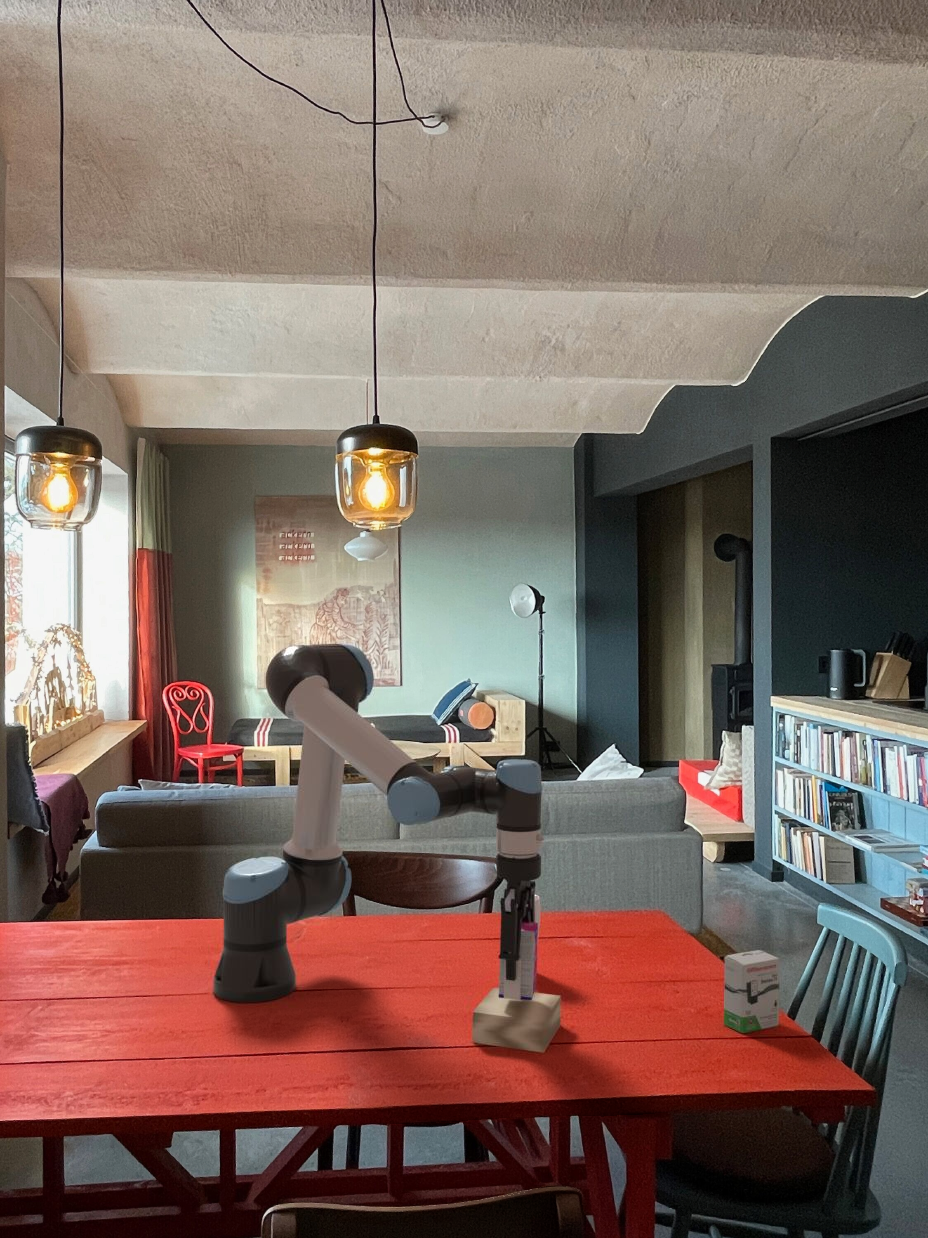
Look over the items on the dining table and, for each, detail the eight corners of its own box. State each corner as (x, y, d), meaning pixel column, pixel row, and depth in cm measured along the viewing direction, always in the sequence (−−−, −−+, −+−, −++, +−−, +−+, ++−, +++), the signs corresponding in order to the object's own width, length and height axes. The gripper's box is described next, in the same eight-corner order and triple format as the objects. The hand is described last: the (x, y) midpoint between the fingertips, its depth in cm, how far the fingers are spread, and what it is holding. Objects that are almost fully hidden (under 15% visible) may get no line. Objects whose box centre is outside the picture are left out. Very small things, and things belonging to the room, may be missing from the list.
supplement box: (533, 1001, 170) (533, 931, 170) (497, 998, 172) (498, 929, 172) (537, 988, 176) (538, 921, 176) (503, 986, 177) (503, 919, 177)
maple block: (472, 1042, 170) (472, 1012, 170) (493, 1016, 181) (493, 987, 181) (543, 1052, 166) (543, 1021, 166) (560, 1025, 178) (560, 996, 178)
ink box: (742, 1035, 174) (742, 964, 174) (722, 1024, 179) (722, 955, 179) (780, 1026, 178) (781, 956, 178) (760, 1016, 183) (760, 948, 183)
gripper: (525, 868, 164) (524, 1014, 164) (553, 843, 182) (552, 975, 182) (480, 864, 166) (479, 1008, 166) (512, 840, 184) (511, 970, 184)
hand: (517, 991), depth 174 cm, fingers closed on supplement box, 6 cm apart
